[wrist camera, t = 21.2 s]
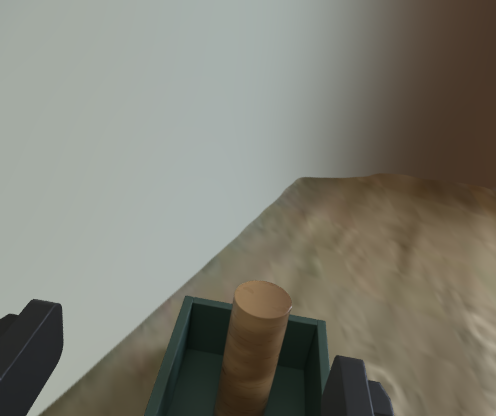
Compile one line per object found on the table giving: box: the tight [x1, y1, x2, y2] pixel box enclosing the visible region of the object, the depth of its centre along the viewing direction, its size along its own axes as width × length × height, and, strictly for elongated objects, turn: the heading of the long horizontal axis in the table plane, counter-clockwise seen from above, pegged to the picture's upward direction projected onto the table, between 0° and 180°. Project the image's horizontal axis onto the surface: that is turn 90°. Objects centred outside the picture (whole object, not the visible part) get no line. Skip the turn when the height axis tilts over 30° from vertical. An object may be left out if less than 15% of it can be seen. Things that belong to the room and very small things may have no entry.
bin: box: [144, 296, 330, 416], centre depth 35 cm, size 13×14×6 cm
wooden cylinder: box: [214, 281, 292, 416], centre depth 34 cm, size 4×4×12 cm
